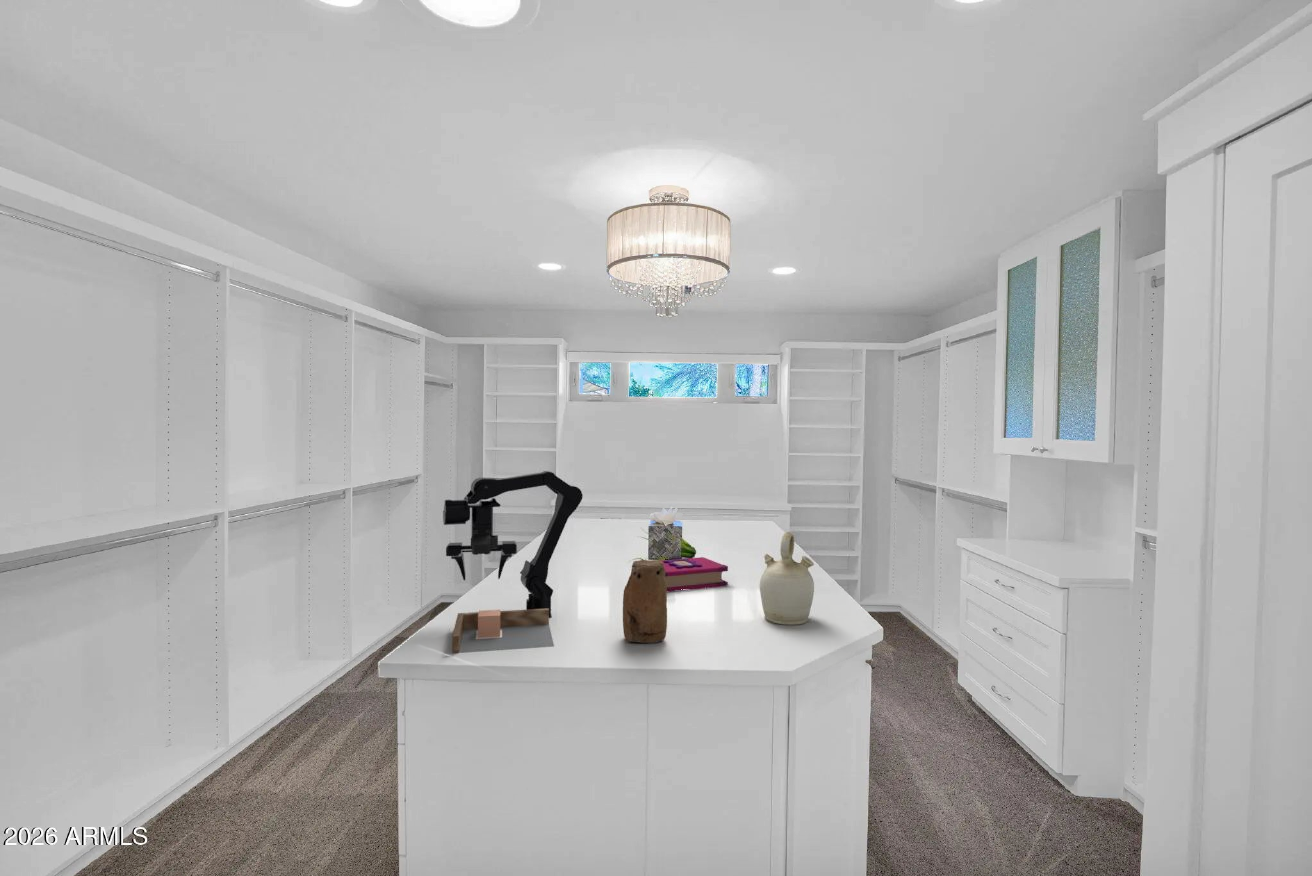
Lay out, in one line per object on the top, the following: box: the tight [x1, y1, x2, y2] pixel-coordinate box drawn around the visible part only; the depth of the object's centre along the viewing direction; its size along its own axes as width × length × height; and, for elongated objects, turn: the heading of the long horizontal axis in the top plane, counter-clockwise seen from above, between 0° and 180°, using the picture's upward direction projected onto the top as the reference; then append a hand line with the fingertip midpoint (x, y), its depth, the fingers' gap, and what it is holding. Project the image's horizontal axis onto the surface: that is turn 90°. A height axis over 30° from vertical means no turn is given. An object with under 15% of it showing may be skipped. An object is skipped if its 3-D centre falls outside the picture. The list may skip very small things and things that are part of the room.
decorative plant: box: [628, 528, 697, 563], centre depth 265 cm, size 18×30×15 cm, turn 95°
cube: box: [478, 609, 501, 638], centre depth 167 cm, size 6×6×6 cm
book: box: [660, 556, 729, 592], centre depth 228 cm, size 21×28×8 cm
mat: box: [458, 623, 555, 654], centre depth 165 cm, size 24×20×1 cm
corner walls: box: [451, 608, 550, 654], centre depth 165 cm, size 24×20×4 cm
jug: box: [759, 531, 815, 626], centre depth 184 cm, size 15×16×25 cm
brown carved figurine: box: [622, 559, 668, 644], centre depth 164 cm, size 11×8×20 cm
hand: (481, 579), depth 178 cm, fingers open, 9 cm apart
